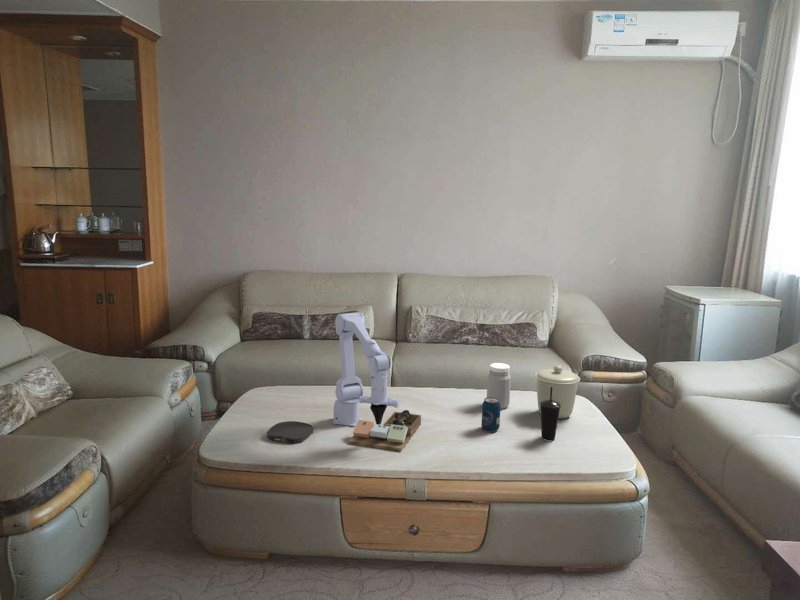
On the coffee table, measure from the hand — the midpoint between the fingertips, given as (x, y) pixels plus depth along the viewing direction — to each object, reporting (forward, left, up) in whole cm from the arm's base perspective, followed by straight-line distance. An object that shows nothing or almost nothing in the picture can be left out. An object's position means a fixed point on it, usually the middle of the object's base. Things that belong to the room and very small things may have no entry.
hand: (378, 423), depth 216 cm
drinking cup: (+58, +26, -8) cm, 64 cm away
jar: (+35, +54, -8) cm, 65 cm away
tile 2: (0, +2, -4) cm, 4 cm away
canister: (+59, +52, -8) cm, 79 cm away
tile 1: (-7, +2, -4) cm, 8 cm away
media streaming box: (-34, -4, -8) cm, 35 cm away
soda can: (+36, +27, -8) cm, 46 cm away
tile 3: (+6, +2, -4) cm, 8 cm away
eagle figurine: (+3, +17, -8) cm, 19 cm away
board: (0, +9, -8) cm, 12 cm away
